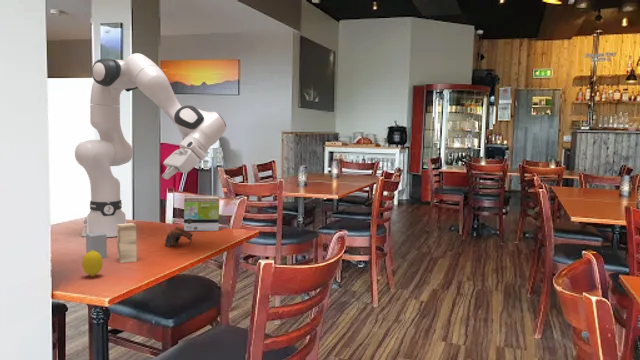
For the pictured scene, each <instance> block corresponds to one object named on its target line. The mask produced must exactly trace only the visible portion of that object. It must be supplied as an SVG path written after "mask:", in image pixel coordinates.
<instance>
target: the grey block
mask: <svg viewBox="0 0 640 360" xmlns="http://www.w3.org/2000/svg"><path fill="white" fill-rule="evenodd" d="M107 244H108V243H107V237H106V234H104V233H102V232H98V233H90V234H86V237H85V245H86V246H85V248H86V250H85V251H86V252H85V254H86V253H88V252H90V251H91V250H94V251H96V252H98V253H99V254H100V255H101V257H102V259H107V258H108V255H107V254H108V251H107Z"/></svg>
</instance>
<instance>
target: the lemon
mask: <svg viewBox="0 0 640 360" xmlns="http://www.w3.org/2000/svg"><path fill="white" fill-rule="evenodd" d="M103 263H104V262H103V258H102V257H101V255H100V254H99V253H98V252H96V251H94V250H91V251H90V252H88V253H86V252H85V254H84V256H83V258H82V264H81V265H82V269H83V272H84V274H85V273H86V274H87V275H89V276H90V277H92V278H93V277H95V275H97V274H99V273H100V272H101V271H102V268H103Z"/></svg>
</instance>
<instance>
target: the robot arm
mask: <svg viewBox="0 0 640 360" xmlns="http://www.w3.org/2000/svg"><path fill="white" fill-rule="evenodd" d="M91 77H92V79H93V82H92V86H91V89H90V90H91V92H90V98H89V99H90V101H89V102H90V105H89V107H90V109H89V110H90V114H89V115H90V116H89V117H90V121H89V122H90V125H91V127H92V128H94V129H95V130H96V131H97V133H98V136H99V139H90V140H89V139H88V140H84V141H83V142H79V143H78V145H76V147H75V151H74V158H75V160H76V162H77V163H78V164H79V165H80V166H81V167H82V168H83V169H84V170H85V172H86V174H87V176H88V178H89V179H88V180H89V183H90V198H91V199H90V201H89V213H88V214H87V216H86V217H84V218H83V225H85V226H84V227H83V228H82V231H81V237H85V238H86V234H90V233H98V232H102V233H104V234H106V238H112V237H113V238H114V237H117V224H127V219H126V218H127V217H126V213H125V212H124V211H123V210H122V208H123V207H122V205H123V203H122V200H121V183H120V180H119V179H118V178H117V177H115V176H114V174H113V172H112V170H111V167H119V166H122V165H125V164H127V163H130V162H131V161H132V158H133V157H134V151H133V147H132V145H131V144H130V143H129V142H128V141H127V139H126V137H125V136H124V134H123V133H124V132H123V129H122V127H121V125H122V124H121V100H120V99H121V93H122V92H123V91H126V92H127V93H128V92H131V91H133V90H138V89H139V90H140V91H141V92H142V93H143V94H144V95H145V96H146V97H148V98H149V99H150V100H151V101H153V103H155V105H157V106H158V107H159V109H161V110H162V111H163V112H164V113H165V114H166V115H167V116H168V117H169V118H170V119H171V121H172V122H173V123H174V124H175V126H176V127H177V129H178V131H179V133H180V135H181V137H182V141H181V142H180V143H179V144H178V146H179V149H176V150H175V151H173V152H172V153H171V154H170V155H169V156H168V157H167V158H165V160H164V161H163V165H164V166H165V167H166V169H165V172H163V174H162V175H161V177H162V178H163V179H165V180H169V179H170V178H171V177H172V176H174V175H175V174H176V173H177V172H179V173H182V174H183V173H184V174H187V173H189V172H191V170H193V169H194V167H196V166H197V165H198V164H199V163H200V161H203V160H204V159H206V157H207V155H206V154H207V152H208V151H209V149H210V148H211V146H213V145H215V144H216V143H217V142H218V141H219V140H220V138H222V136H223V134H225V132H226V130H227V124H226V121H225V120H224V118H223V117H222V116H221V114H220V113H218V112H217V111H205V110H202V109H199V108H196V107H195V106H194V105H188V104H187V105H183V106H182V105H181V103H180V102H179V100H178V99H177V97H176V94H175V93H174V90H173V89H172V85H171V83H170V80H169V79H168V77H167V75H166V74H165V72H163V70H162V69H161V68H160V67H159V66H158V65H157V64H156V63H155V62H154V61H153V60H151V59H150V58H149V57H147V56H146V55H145V54H142V53H138V52H136V53H132V54H130V55H129V56H127V58H126V59H113V58H109V57H108V58H106V57H105V58H99V59H97V60H96V61H94V63H93V65H92V68H91Z"/></svg>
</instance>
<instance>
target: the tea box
mask: <svg viewBox="0 0 640 360" xmlns="http://www.w3.org/2000/svg"><path fill="white" fill-rule="evenodd" d="M183 203H184V204H183V230H185V231H187V232H191V231H192V232H195V231H199V232H200V231H203V232H205V231H206V232H208V231H209V232H212V231H213V232H214V231H215V232H216V231H217V232H218V231H219V229H220V227H219V226H220V198H219V195H205V194H204V195H203V194H202V195H200V194H199V195H196V194H195V195H192V194H191V195H188V194H187V195H186V194H185V195H184V200H183Z"/></svg>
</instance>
